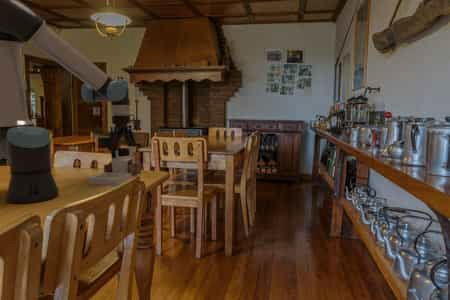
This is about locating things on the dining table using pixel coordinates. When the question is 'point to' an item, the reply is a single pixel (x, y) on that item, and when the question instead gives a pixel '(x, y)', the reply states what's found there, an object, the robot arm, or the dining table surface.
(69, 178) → the dining table surface
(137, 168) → the rack
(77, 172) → the dining table surface
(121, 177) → the tray
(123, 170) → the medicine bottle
